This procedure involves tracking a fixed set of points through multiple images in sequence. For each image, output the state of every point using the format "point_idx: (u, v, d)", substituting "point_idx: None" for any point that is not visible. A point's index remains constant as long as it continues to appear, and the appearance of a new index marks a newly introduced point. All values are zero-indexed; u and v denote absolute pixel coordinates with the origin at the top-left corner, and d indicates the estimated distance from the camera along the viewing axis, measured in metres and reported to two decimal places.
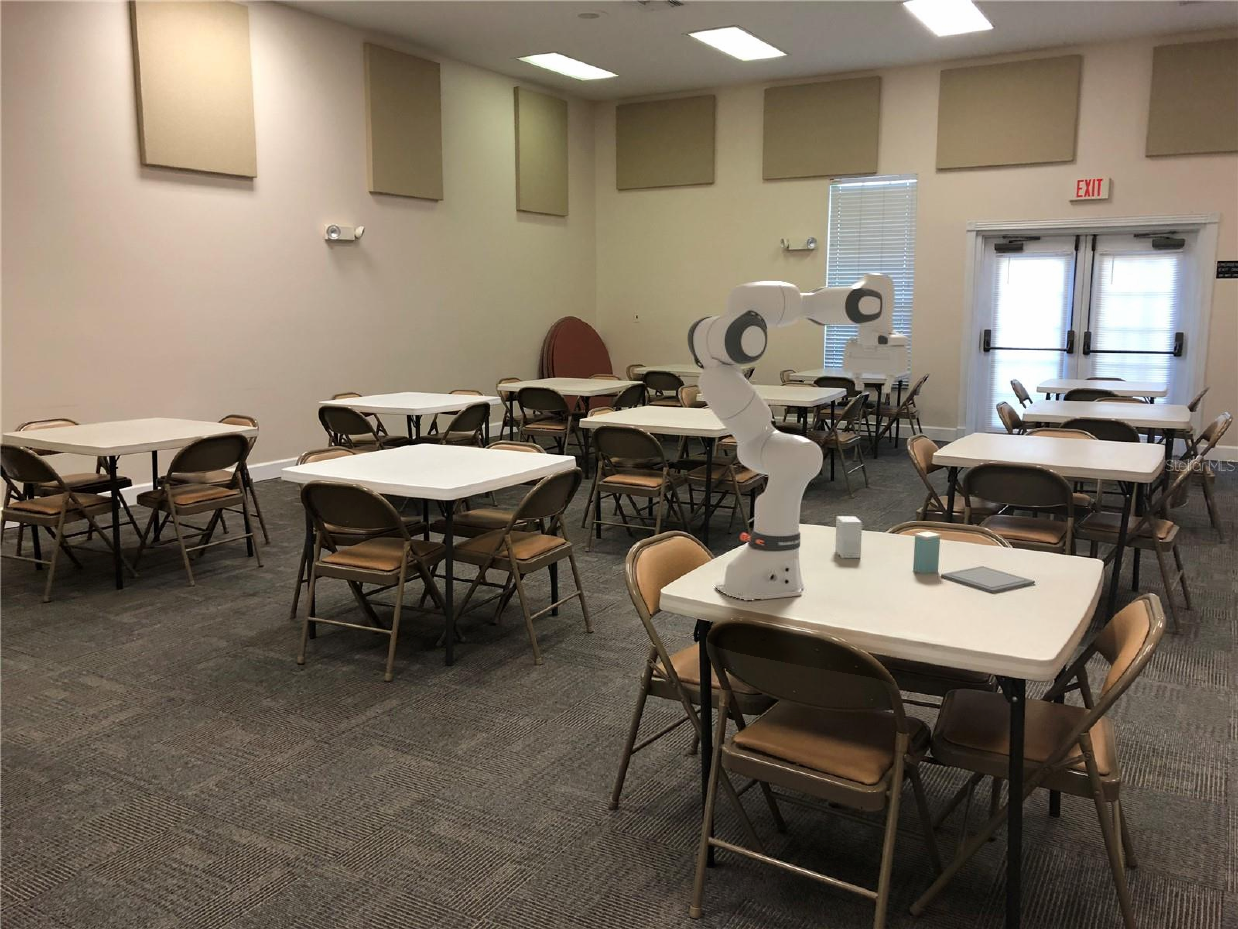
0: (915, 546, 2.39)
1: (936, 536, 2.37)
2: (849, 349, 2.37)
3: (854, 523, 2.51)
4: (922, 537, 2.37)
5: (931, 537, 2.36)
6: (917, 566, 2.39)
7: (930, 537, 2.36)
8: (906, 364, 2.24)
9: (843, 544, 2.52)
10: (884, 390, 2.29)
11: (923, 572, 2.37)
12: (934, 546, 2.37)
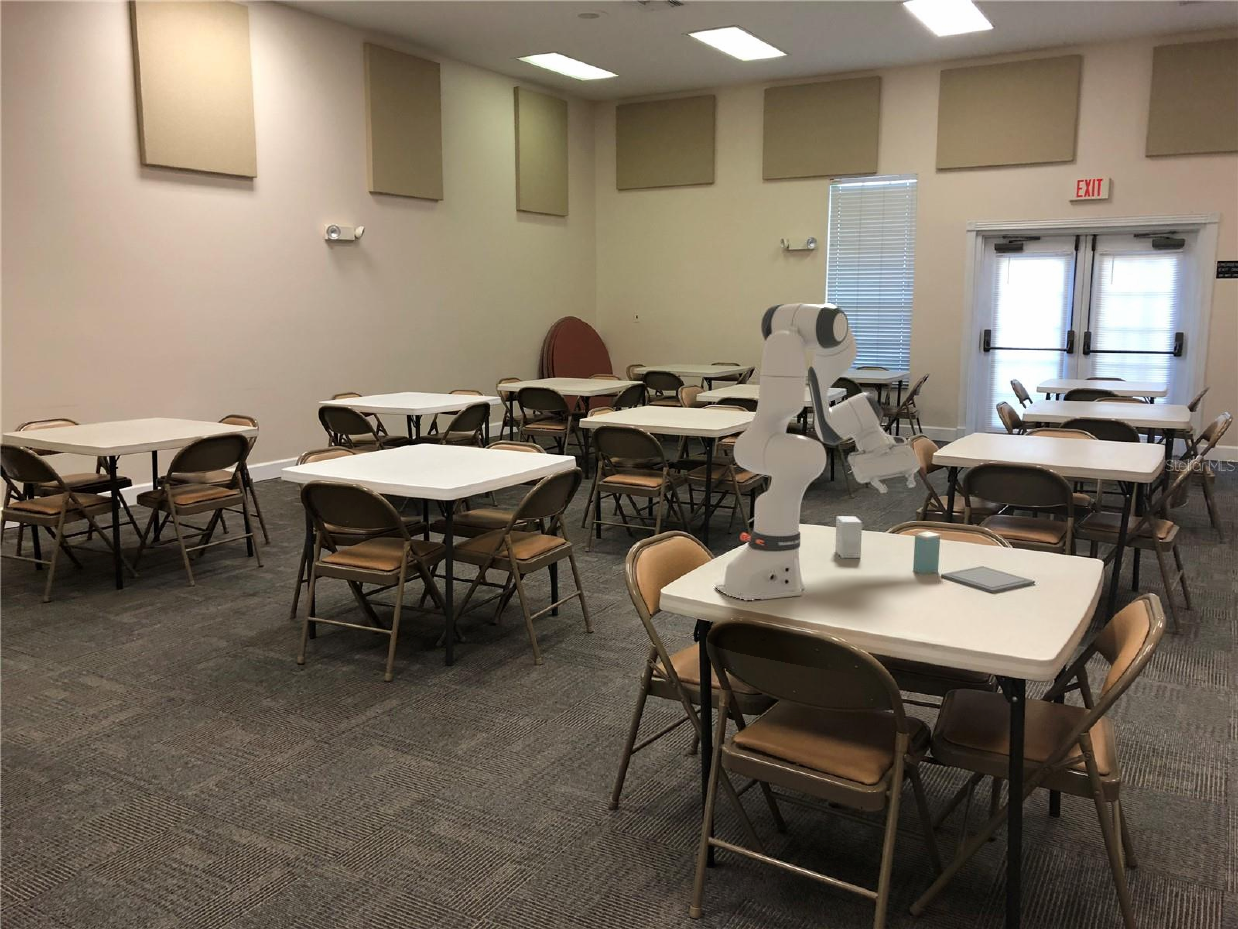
0: (915, 546, 2.39)
1: (936, 536, 2.37)
2: (862, 457, 2.48)
3: (854, 523, 2.51)
4: (922, 537, 2.37)
5: (931, 537, 2.36)
6: (917, 566, 2.39)
7: (930, 537, 2.36)
8: None
9: (843, 544, 2.52)
10: (913, 482, 2.48)
11: (923, 572, 2.37)
12: (934, 546, 2.37)
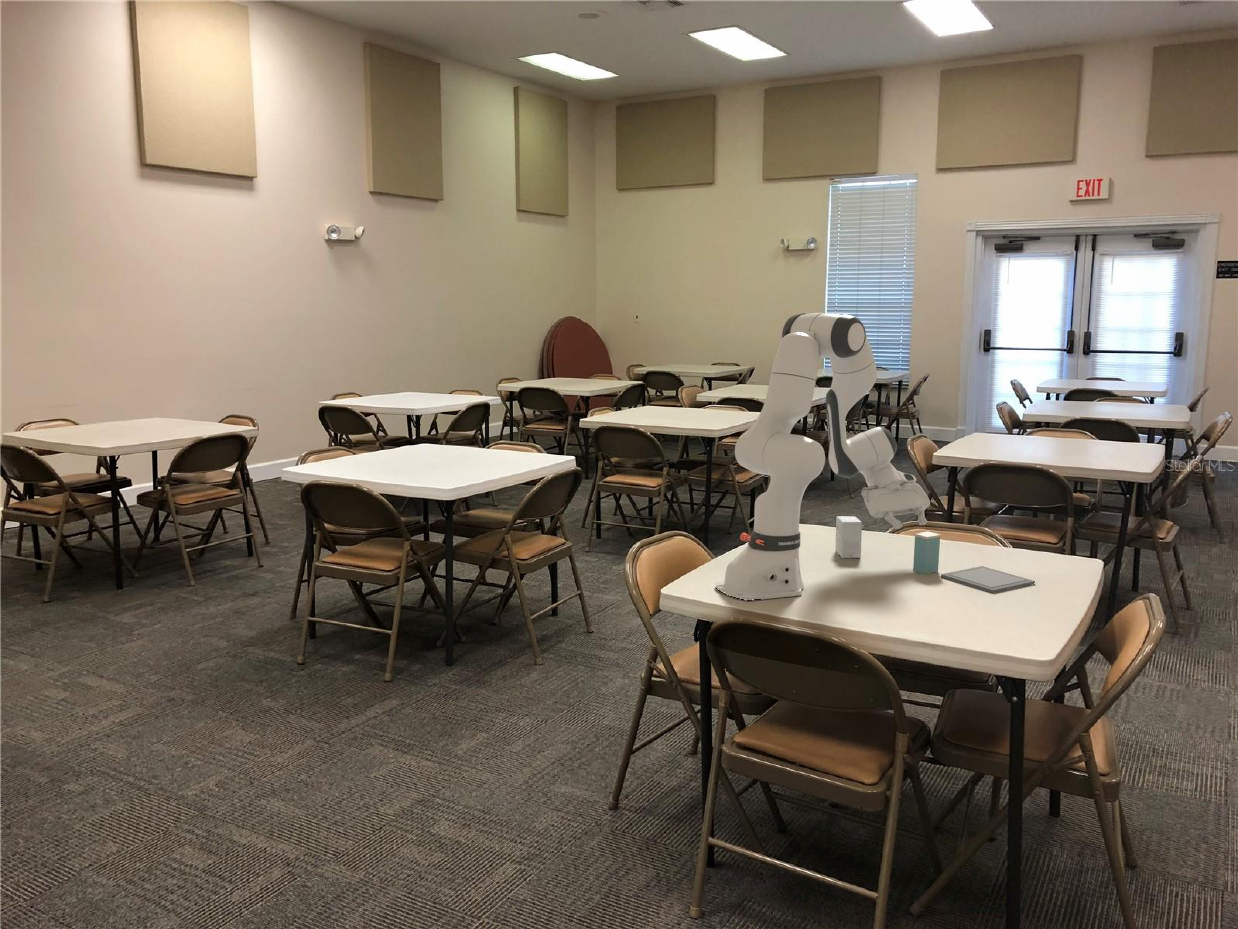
0: (915, 546, 2.39)
1: (936, 536, 2.37)
2: (877, 492, 2.44)
3: (854, 523, 2.51)
4: (922, 537, 2.37)
5: (931, 537, 2.36)
6: (917, 566, 2.39)
7: (930, 537, 2.36)
8: None
9: (843, 544, 2.52)
10: (925, 520, 2.45)
11: (923, 572, 2.37)
12: (934, 546, 2.37)
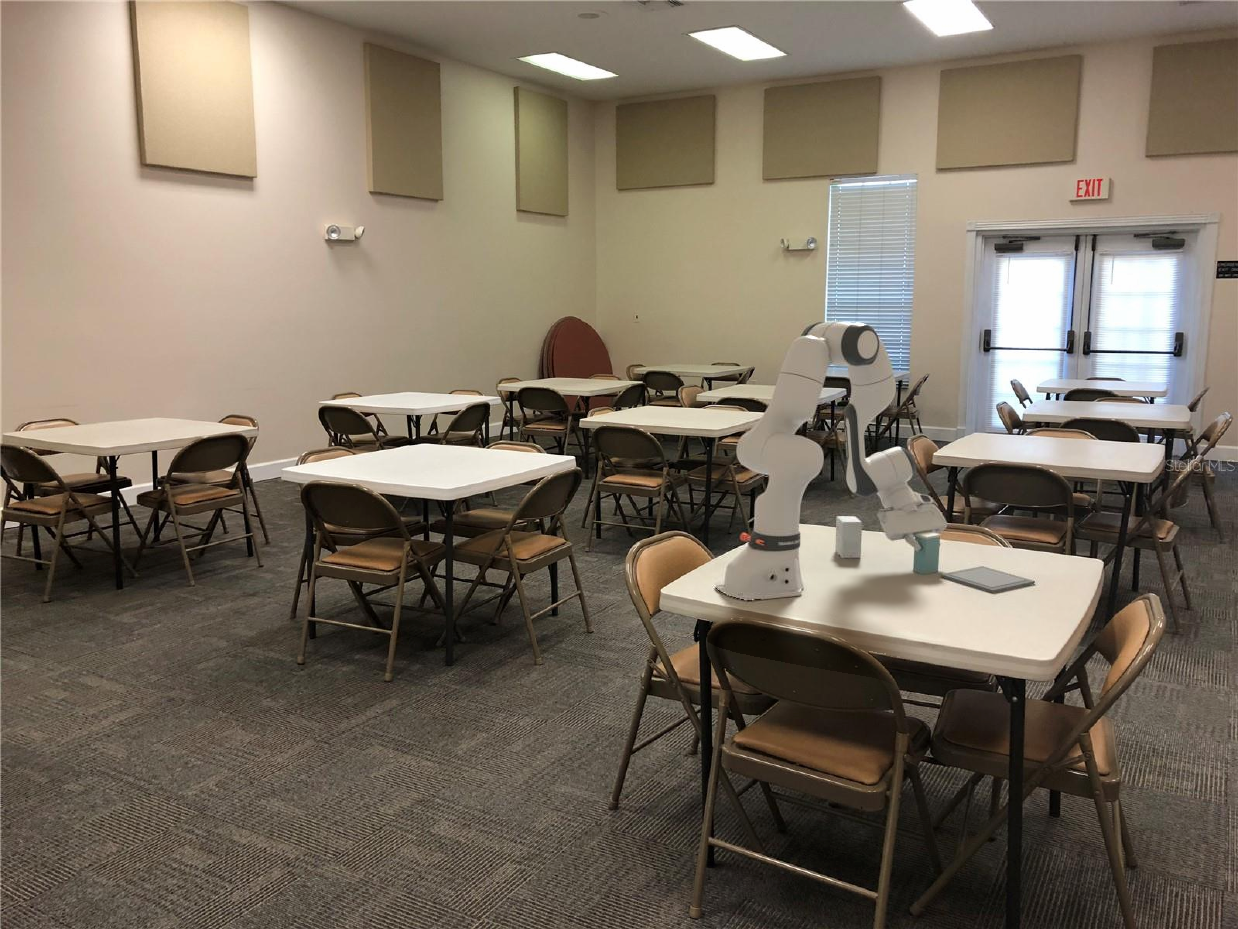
0: None
1: (936, 536, 2.37)
2: (893, 514, 2.39)
3: (854, 523, 2.51)
4: (922, 537, 2.37)
5: (931, 537, 2.36)
6: (917, 566, 2.39)
7: (930, 537, 2.36)
8: None
9: (843, 544, 2.52)
10: None
11: (923, 572, 2.37)
12: (934, 546, 2.37)
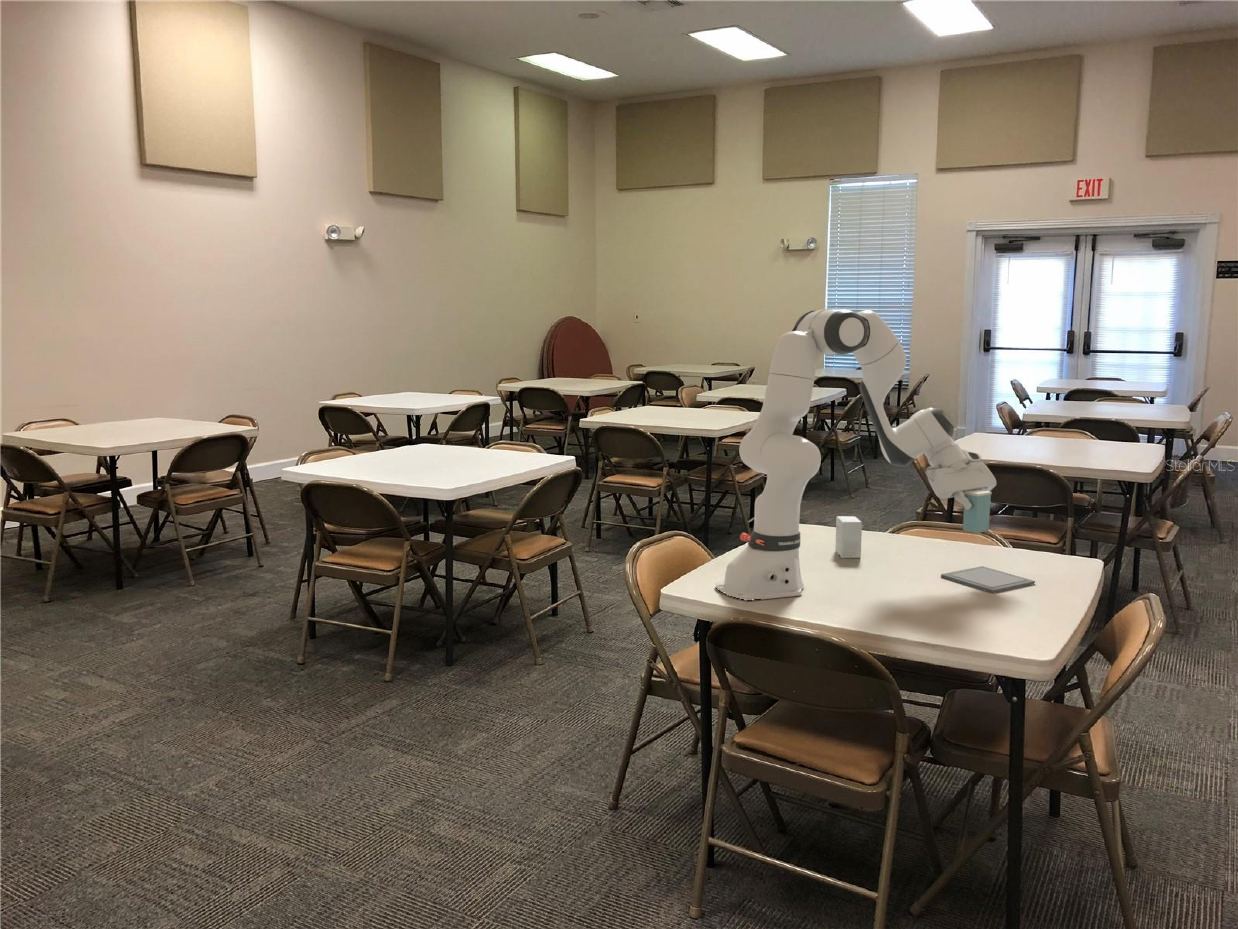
0: None
1: (987, 493, 2.29)
2: (942, 472, 2.31)
3: (854, 523, 2.51)
4: (973, 494, 2.29)
5: (982, 494, 2.28)
6: (967, 525, 2.31)
7: (981, 494, 2.28)
8: None
9: (843, 544, 2.52)
10: None
11: (974, 531, 2.29)
12: (985, 503, 2.29)
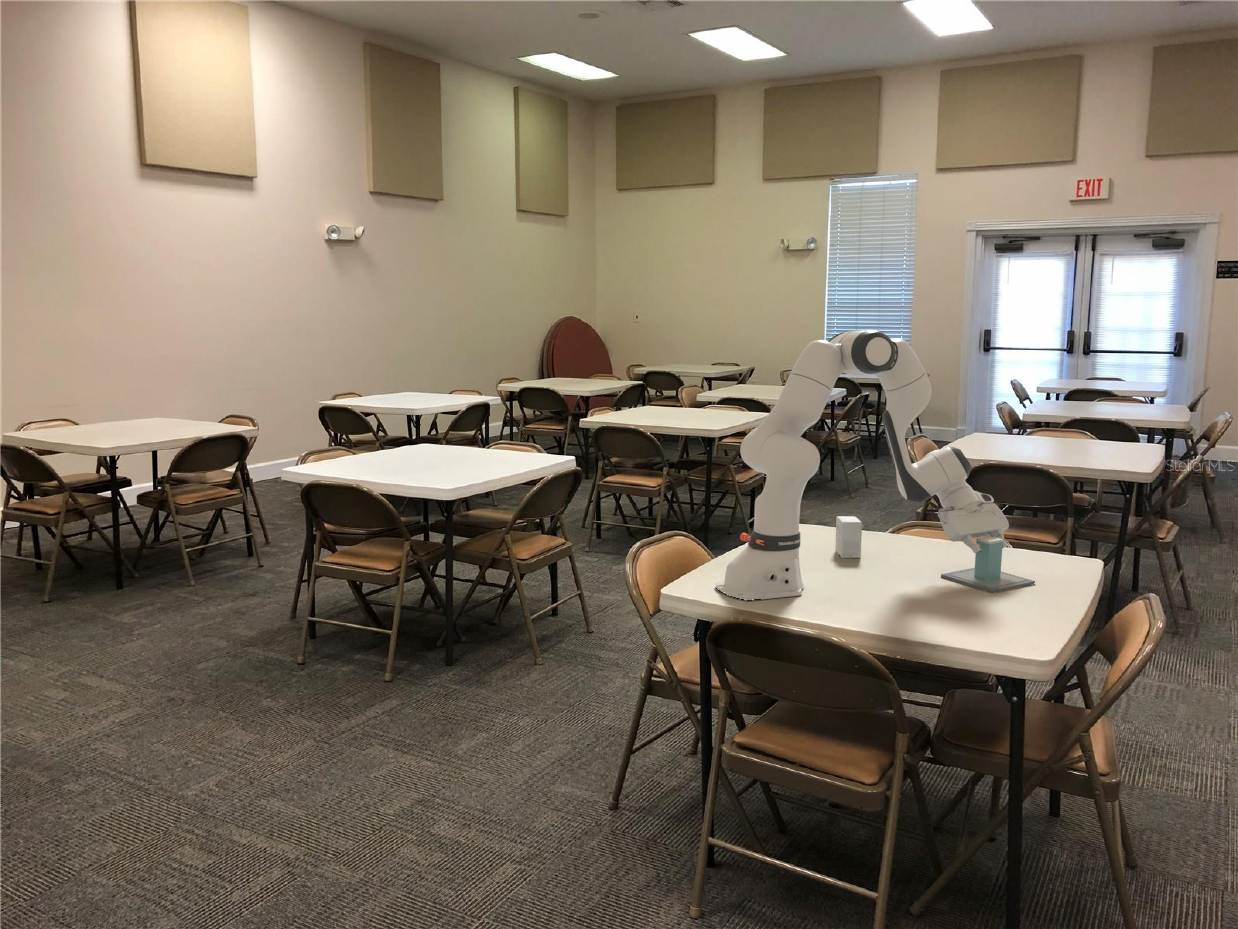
0: None
1: (999, 541, 2.28)
2: (954, 514, 2.30)
3: (854, 523, 2.51)
4: (984, 542, 2.28)
5: (994, 542, 2.27)
6: (979, 572, 2.30)
7: (993, 542, 2.27)
8: None
9: (843, 544, 2.52)
10: (1005, 543, 2.32)
11: (985, 578, 2.29)
12: (997, 551, 2.29)
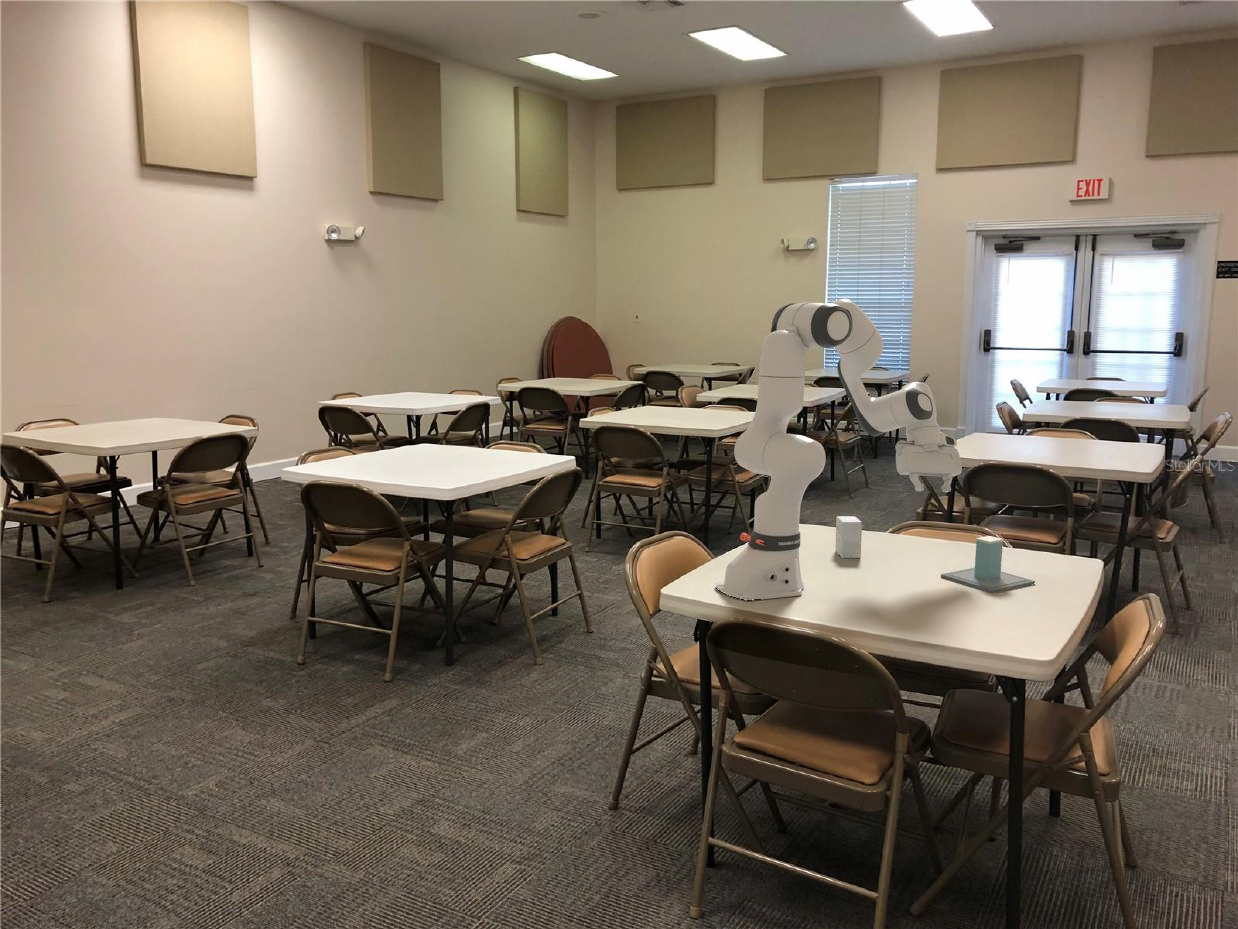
0: (976, 551, 2.30)
1: (999, 541, 2.28)
2: (911, 450, 2.37)
3: (854, 523, 2.51)
4: (984, 542, 2.28)
5: (994, 542, 2.27)
6: (979, 572, 2.30)
7: (993, 542, 2.27)
8: None
9: (843, 544, 2.52)
10: (949, 488, 2.41)
11: (985, 578, 2.29)
12: (997, 551, 2.29)
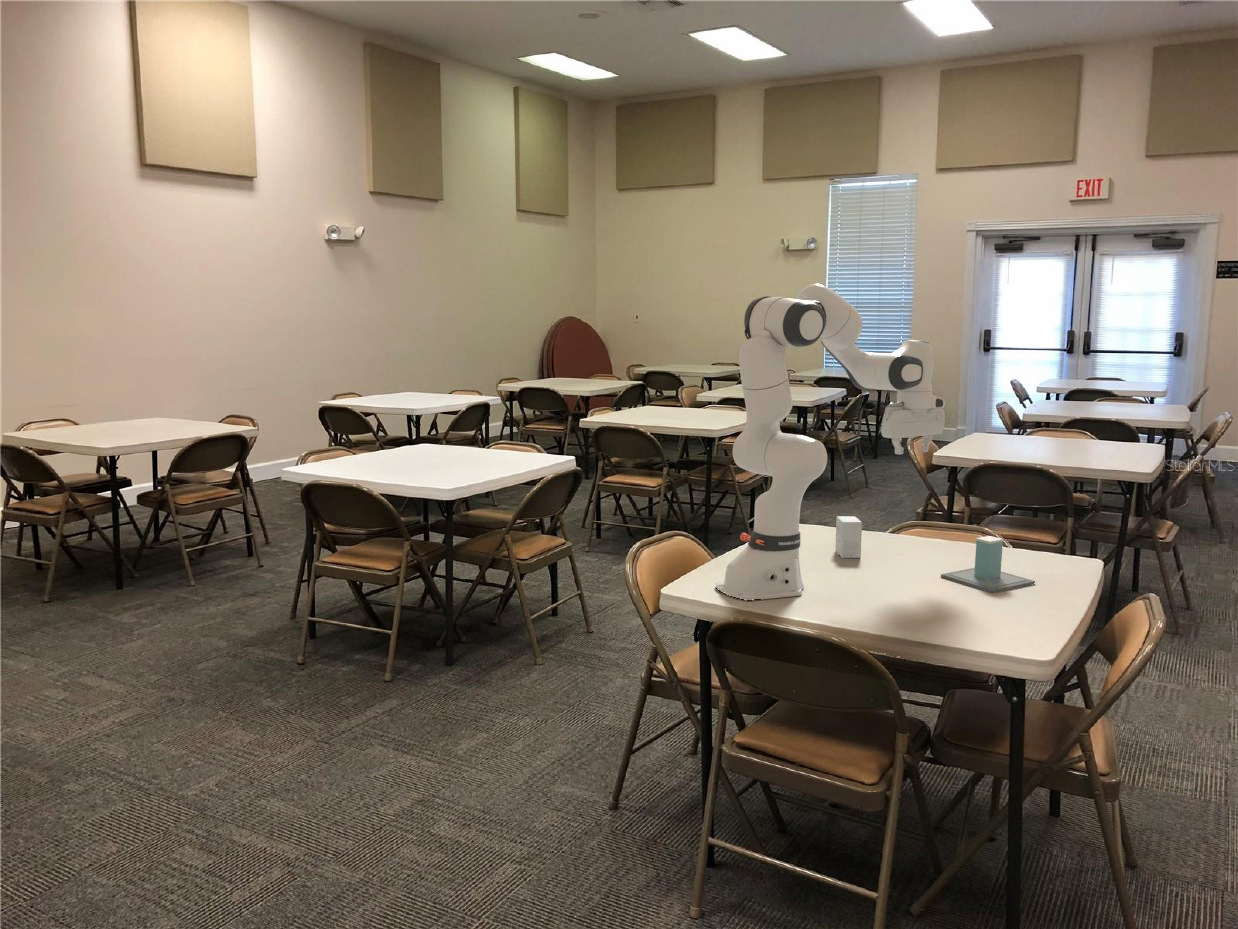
0: (976, 551, 2.30)
1: (999, 541, 2.28)
2: (899, 415, 2.34)
3: (854, 523, 2.51)
4: (984, 542, 2.28)
5: (994, 542, 2.27)
6: (979, 572, 2.30)
7: (993, 542, 2.27)
8: None
9: (843, 544, 2.52)
10: (927, 449, 2.43)
11: (985, 578, 2.29)
12: (997, 551, 2.29)
